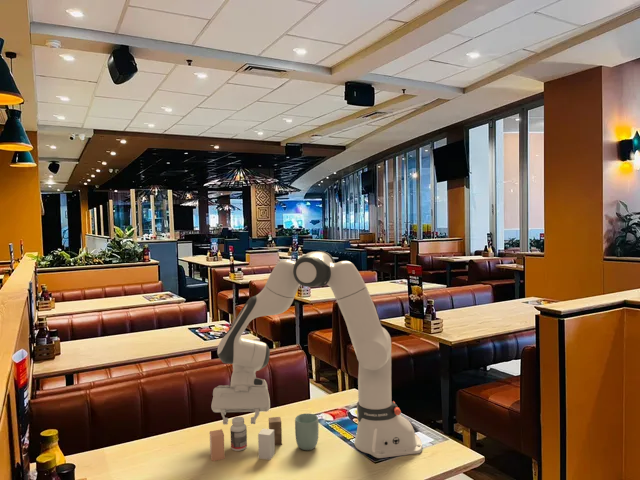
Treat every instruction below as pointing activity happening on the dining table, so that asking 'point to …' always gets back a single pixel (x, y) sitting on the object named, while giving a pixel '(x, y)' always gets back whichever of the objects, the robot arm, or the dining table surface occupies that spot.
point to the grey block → (266, 444)
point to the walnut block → (276, 429)
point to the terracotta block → (217, 445)
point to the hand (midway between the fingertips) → (239, 423)
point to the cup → (306, 431)
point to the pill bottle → (238, 434)
